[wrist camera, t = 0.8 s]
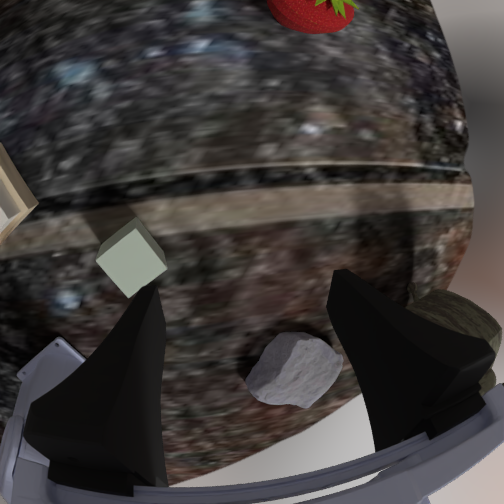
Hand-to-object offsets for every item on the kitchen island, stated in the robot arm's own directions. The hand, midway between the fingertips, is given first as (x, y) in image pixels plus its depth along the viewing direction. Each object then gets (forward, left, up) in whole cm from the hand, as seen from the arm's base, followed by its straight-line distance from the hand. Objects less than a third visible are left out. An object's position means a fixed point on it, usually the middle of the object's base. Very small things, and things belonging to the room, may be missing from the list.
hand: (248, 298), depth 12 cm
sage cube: (-6, +1, -15) cm, 16 cm away
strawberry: (+17, +12, -15) cm, 26 cm away
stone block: (0, -24, -16) cm, 28 cm away
